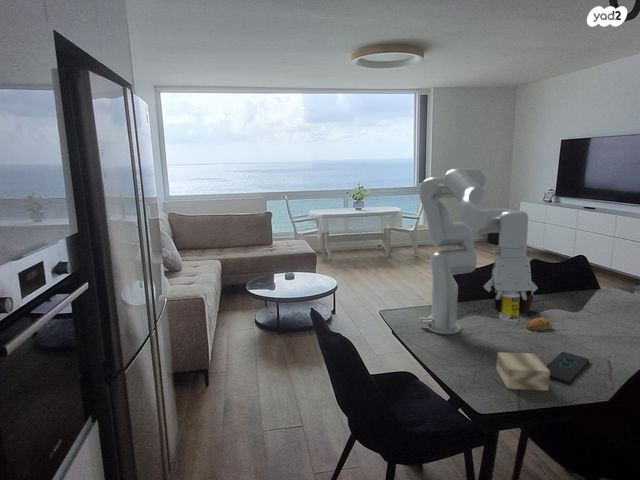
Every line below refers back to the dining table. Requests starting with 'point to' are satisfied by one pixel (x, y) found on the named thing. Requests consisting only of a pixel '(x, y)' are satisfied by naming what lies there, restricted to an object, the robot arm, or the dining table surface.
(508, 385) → the oak block
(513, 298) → the supplement bottle
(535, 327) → the pastry
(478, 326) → the dining table surface
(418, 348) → the dining table surface
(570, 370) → the smart home device
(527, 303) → the muffin
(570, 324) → the dining table surface
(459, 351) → the dining table surface
